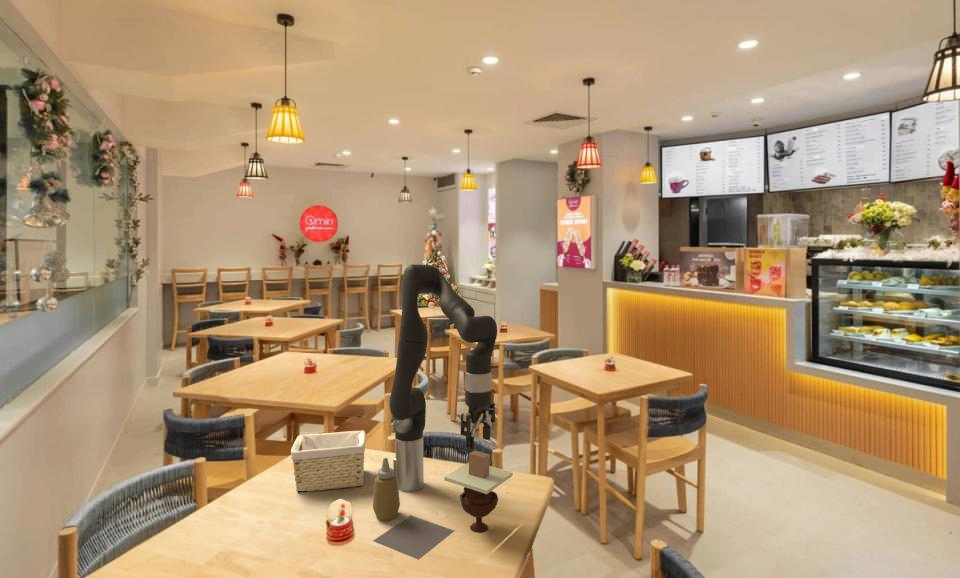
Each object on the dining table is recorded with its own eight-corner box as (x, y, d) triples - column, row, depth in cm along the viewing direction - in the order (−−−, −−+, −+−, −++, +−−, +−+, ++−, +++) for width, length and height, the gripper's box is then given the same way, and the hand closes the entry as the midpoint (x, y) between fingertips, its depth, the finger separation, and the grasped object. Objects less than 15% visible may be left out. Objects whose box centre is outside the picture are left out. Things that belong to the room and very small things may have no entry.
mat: (372, 542, 142) (372, 540, 142) (410, 516, 155) (410, 515, 155) (418, 560, 133) (418, 559, 133) (454, 532, 147) (454, 530, 146)
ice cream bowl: (495, 541, 142) (494, 488, 141) (455, 537, 144) (454, 484, 143) (501, 521, 152) (501, 471, 151) (464, 517, 154) (463, 468, 153)
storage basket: (290, 495, 169) (289, 451, 168) (298, 474, 185) (297, 433, 184) (365, 488, 174) (364, 445, 172) (367, 468, 189) (366, 429, 188)
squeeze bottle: (405, 512, 157) (404, 455, 156) (392, 526, 150) (390, 465, 148) (381, 508, 160) (380, 451, 159) (367, 521, 152) (366, 462, 151)
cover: (444, 480, 145) (444, 455, 144) (471, 464, 156) (472, 441, 156) (486, 494, 137) (487, 468, 137) (512, 475, 149) (513, 452, 148)
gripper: (480, 380, 153) (480, 433, 154) (452, 391, 141) (452, 449, 142) (503, 383, 149) (502, 438, 150) (475, 395, 137) (475, 455, 138)
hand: (478, 444), depth 146 cm, fingers open, 8 cm apart
